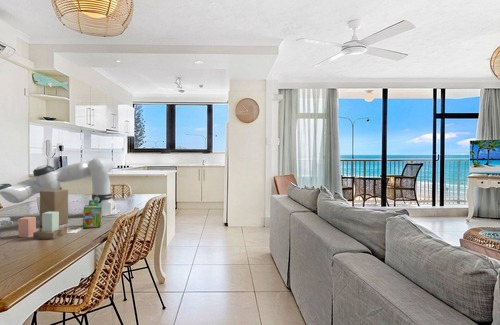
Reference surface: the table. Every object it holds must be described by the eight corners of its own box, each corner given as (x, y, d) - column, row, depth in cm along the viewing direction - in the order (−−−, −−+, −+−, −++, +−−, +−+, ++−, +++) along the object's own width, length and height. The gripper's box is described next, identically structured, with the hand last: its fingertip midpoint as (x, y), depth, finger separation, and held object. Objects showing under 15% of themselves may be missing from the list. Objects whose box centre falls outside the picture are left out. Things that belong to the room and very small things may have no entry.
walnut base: (47, 233, 156) (47, 227, 155) (66, 233, 155) (66, 228, 155) (33, 238, 146) (33, 232, 145) (53, 239, 145) (53, 233, 145)
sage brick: (49, 228, 153) (49, 211, 153) (58, 229, 153) (58, 211, 152) (42, 231, 148) (42, 213, 148) (52, 231, 148) (52, 213, 147)
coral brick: (26, 234, 153) (26, 216, 153) (35, 234, 153) (35, 217, 153) (18, 236, 148) (18, 218, 148) (28, 237, 148) (28, 219, 148)
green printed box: (82, 228, 166) (83, 201, 166) (84, 224, 174) (85, 199, 174) (101, 227, 170) (101, 201, 169) (101, 223, 178) (102, 199, 178)
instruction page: (67, 227, 168) (67, 227, 168) (84, 227, 169) (84, 226, 169) (57, 233, 156) (57, 232, 156) (75, 233, 157) (75, 232, 157)
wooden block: (54, 226, 169) (54, 191, 168) (39, 225, 171) (39, 190, 170) (68, 223, 179) (68, 189, 178) (54, 221, 181) (54, 189, 180)
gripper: (-5, 225, 162) (20, 226, 162) (-43, 235, 142) (-15, 236, 141) (-5, 214, 162) (20, 214, 161) (-43, 222, 141) (-15, 223, 141)
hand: (4, 225), depth 151 cm, fingers open, 8 cm apart
